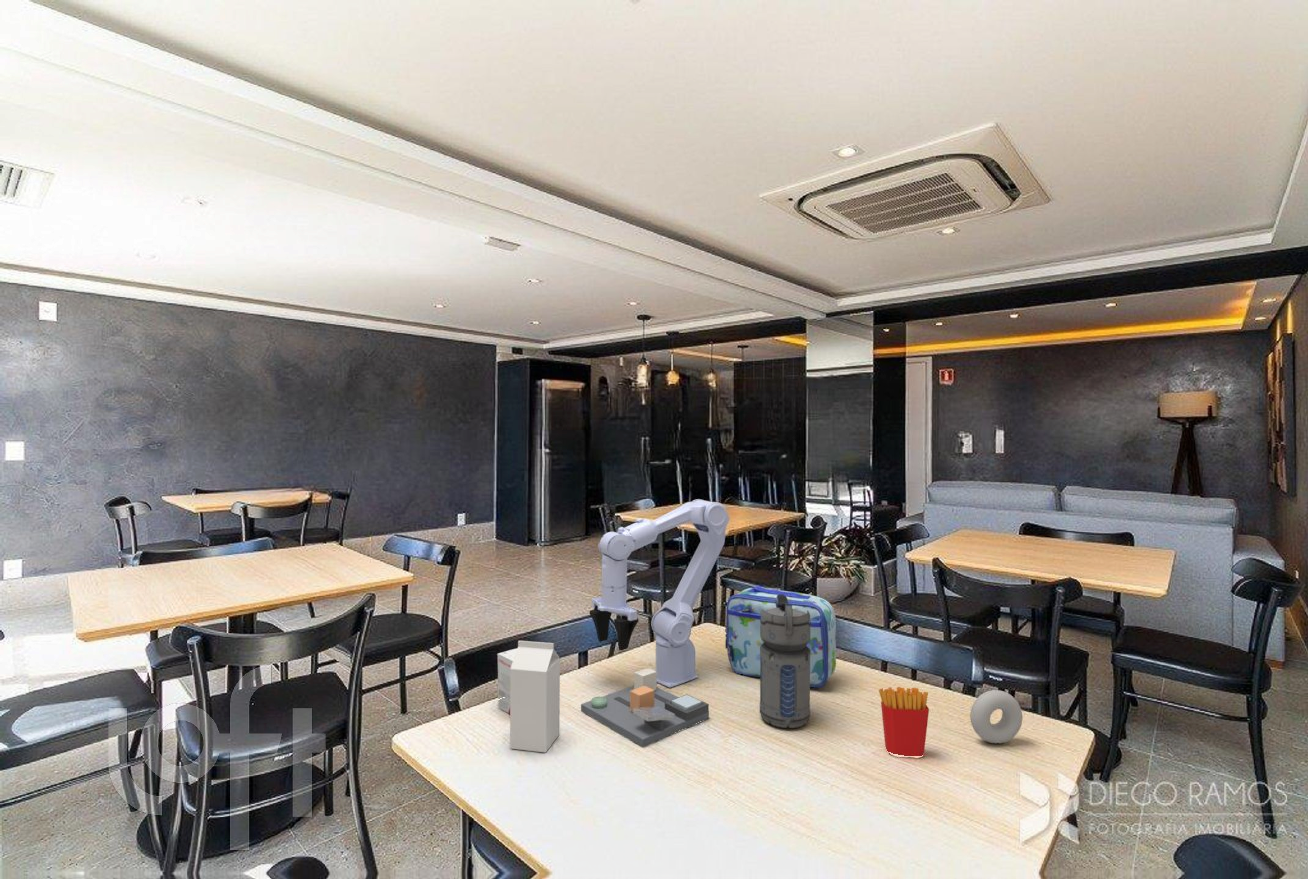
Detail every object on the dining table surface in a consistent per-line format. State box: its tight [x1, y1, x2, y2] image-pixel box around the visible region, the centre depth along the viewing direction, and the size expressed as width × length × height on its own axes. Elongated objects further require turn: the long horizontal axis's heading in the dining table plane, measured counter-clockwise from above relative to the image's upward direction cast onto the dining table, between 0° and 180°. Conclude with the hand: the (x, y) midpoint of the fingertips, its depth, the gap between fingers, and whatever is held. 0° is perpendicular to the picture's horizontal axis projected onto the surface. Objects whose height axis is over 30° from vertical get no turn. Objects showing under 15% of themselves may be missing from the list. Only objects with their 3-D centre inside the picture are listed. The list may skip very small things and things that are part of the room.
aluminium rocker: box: [633, 706, 675, 721], centre depth 119 cm, size 7×4×1 cm, turn 132°
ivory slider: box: [633, 667, 658, 690], centre depth 135 cm, size 4×3×4 cm
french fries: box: [878, 686, 930, 756], centre depth 112 cm, size 8×4×12 cm, turn 83°
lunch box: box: [724, 585, 837, 688], centre depth 148 cm, size 26×11×21 cm, turn 58°
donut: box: [969, 689, 1024, 744], centre depth 116 cm, size 10×4×10 cm, turn 96°
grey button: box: [672, 694, 702, 711], centre depth 126 cm, size 4×4×2 cm
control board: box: [580, 685, 710, 748], centre depth 127 cm, size 18×20×3 cm
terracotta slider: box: [630, 686, 654, 712], centre depth 125 cm, size 4×3×4 cm
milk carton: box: [509, 640, 561, 753], centre depth 115 cm, size 7×7×19 cm
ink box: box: [497, 647, 518, 715], centre depth 129 cm, size 9×5×12 cm, turn 44°
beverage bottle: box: [759, 594, 811, 729], centre depth 126 cm, size 10×13×25 cm
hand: (612, 644), depth 139 cm, fingers open, 7 cm apart
